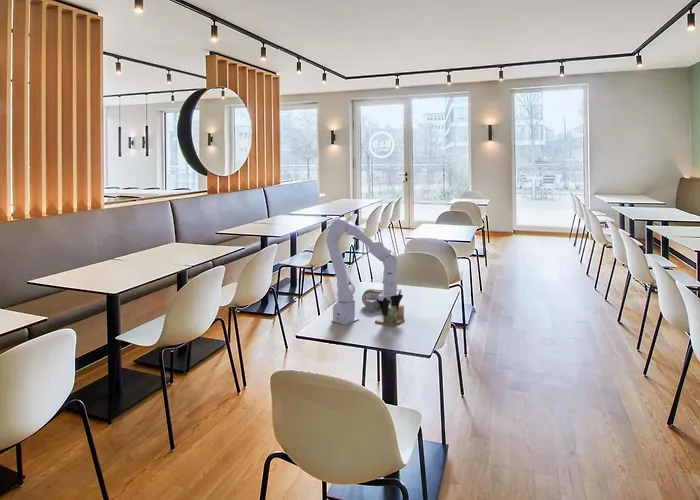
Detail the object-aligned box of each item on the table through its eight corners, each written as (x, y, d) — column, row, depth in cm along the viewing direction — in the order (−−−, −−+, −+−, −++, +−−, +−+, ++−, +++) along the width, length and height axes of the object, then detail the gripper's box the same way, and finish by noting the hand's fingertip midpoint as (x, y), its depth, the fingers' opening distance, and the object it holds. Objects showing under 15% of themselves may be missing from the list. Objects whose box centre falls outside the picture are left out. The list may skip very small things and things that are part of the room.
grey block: (372, 312, 216) (372, 301, 215) (365, 311, 218) (365, 300, 217) (377, 310, 219) (377, 300, 218) (370, 308, 221) (370, 298, 220)
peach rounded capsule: (400, 319, 206) (400, 308, 205) (392, 317, 209) (393, 306, 208) (405, 316, 209) (405, 305, 208) (397, 315, 212) (398, 304, 211)
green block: (391, 322, 200) (391, 308, 199) (383, 320, 202) (383, 306, 201) (396, 319, 203) (396, 306, 202) (388, 318, 205) (388, 304, 204)
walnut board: (392, 327, 196) (392, 325, 196) (375, 322, 202) (375, 320, 202) (404, 321, 203) (404, 319, 203) (387, 317, 209) (387, 315, 209)
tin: (394, 308, 222) (394, 290, 221) (393, 310, 219) (393, 292, 218) (362, 305, 226) (362, 288, 225) (361, 307, 223) (361, 290, 222)
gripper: (388, 286, 191) (388, 319, 194) (407, 279, 202) (407, 310, 205) (374, 284, 196) (373, 315, 198) (393, 277, 207) (393, 307, 209)
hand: (389, 313), depth 202 cm, fingers open, 7 cm apart
